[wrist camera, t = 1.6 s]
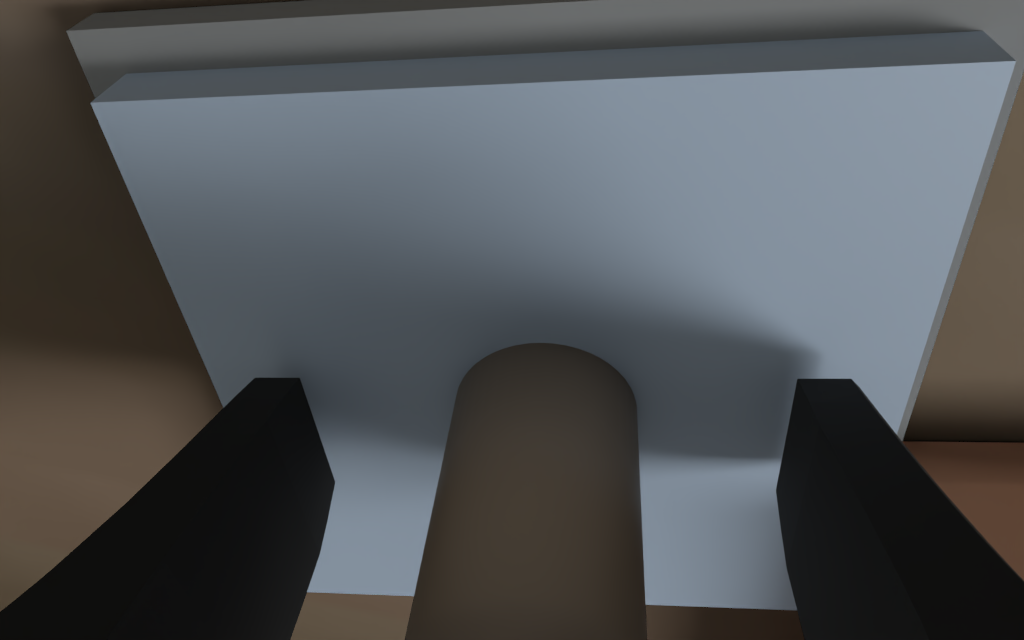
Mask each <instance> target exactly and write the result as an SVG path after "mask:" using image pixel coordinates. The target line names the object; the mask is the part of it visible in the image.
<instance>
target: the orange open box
mask: <svg viewBox="0 0 1024 640" xmlns="http://www.w3.org/2000/svg"><path fill="white" fill-rule="evenodd" d="M902 442H903V443H904V444H905V446H906V447H907V448H908V449H909V451H910V452H911V453H912V454H913V455H914V457H915V458H916V459H917V460H918V462H919V463H920V464H921V465H922V466H923V468H924V469H925V470H926V471H927V473H928V474H929V475H930V476H931V477H932V479H933V480H934V481H935V482H936V483H937V484H938V486H939V487H940V488H941V489H942V490H943V492H944V493H945V494H946V495H947V496H948V497H949V498H950V500H951V501H952V502H953V503H954V504H955V505H956V506H957V508H958V509H959V510H960V511H961V512H962V513H963V514H964V515H965V517H966V518H967V519H968V520H969V521H970V522H971V523H972V525H973V526H974V527H975V528H976V529H977V530H978V531H979V532H980V534H981V535H982V536H983V537H984V538H985V539H986V540H987V542H988V543H989V544H990V545H991V546H992V547H993V548H994V549H995V550H996V551H997V552H998V553H999V555H1000V556H1001V557H1002V558H1003V559H1004V560H1005V561H1006V562H1007V563H1008V564H1009V565H1010V566H1011V568H1012V569H1013V570H1014V571H1015V572H1016V573H1017V574H1018V575H1019V576H1020V577H1021V578H1022V579H1023V580H1024V443H1002V442H913V441H902Z"/></svg>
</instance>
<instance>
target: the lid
mask: <svg viewBox="0 0 1024 640" xmlns="http://www.w3.org/2000/svg"><path fill="white" fill-rule="evenodd" d="M1015 63H1016V60H1015V59H1014V58H1012V57H1011V56H1010V55H1009V54H1008V53H1007V52H1006V51H1005V50H1004V49H1003V48H1001V47H1000V46H999V45H998V44H997V43H996V42H995V41H994V40H993V39H991V38H990V37H989V36H988V35H987V34H986V33H985V32H984V31H969V32H949V33H929V34H909V35H889V36H869V37H849V38H829V39H809V40H789V41H769V42H749V43H729V44H709V45H689V46H669V47H648V48H628V49H608V50H588V51H568V52H548V53H528V54H508V55H488V56H468V57H448V58H428V59H408V60H388V61H368V62H348V63H328V64H308V65H288V66H268V67H248V68H228V69H208V70H188V71H168V72H148V73H128V74H125V75H124V76H123V77H122V78H120V79H119V80H118V81H117V82H115V83H114V84H113V85H112V86H110V87H109V88H108V89H107V90H105V91H104V92H103V93H102V94H100V95H99V96H98V97H97V98H95V99H94V100H93V101H92V102H90V104H91V106H92V108H93V110H94V113H95V115H96V117H97V120H98V122H99V124H100V126H101V129H102V131H103V133H104V136H105V138H106V140H107V142H108V145H109V147H110V149H111V152H112V154H113V156H114V158H115V161H116V163H117V165H118V168H119V170H120V172H121V174H122V177H123V179H124V181H125V184H126V186H127V188H128V190H129V193H130V195H131V197H132V200H133V202H134V204H135V207H136V209H137V211H138V213H139V216H140V218H141V220H142V223H143V225H144V227H145V229H146V232H147V234H148V236H149V239H150V241H151V243H152V245H153V248H154V250H155V252H156V255H157V257H158V259H159V261H160V264H161V266H162V268H163V271H164V273H165V275H166V277H167V280H168V282H169V284H170V287H171V289H172V291H173V293H174V296H175V298H176V300H177V303H178V305H179V307H180V309H181V312H182V314H183V316H184V319H185V321H186V323H187V325H188V328H189V330H190V332H191V335H192V337H193V339H194V342H195V344H196V346H197V348H198V351H199V353H200V355H201V358H202V360H203V362H204V364H205V367H206V369H207V371H208V374H209V376H210V378H211V380H212V383H213V385H214V387H215V390H216V392H217V394H218V396H219V399H220V401H221V403H222V406H223V408H224V407H225V406H226V405H227V404H228V403H229V402H230V401H231V400H232V399H233V398H234V397H235V396H236V395H237V394H238V393H239V392H240V391H241V390H242V389H243V388H244V387H246V386H247V385H248V384H249V383H250V382H251V381H252V380H253V379H254V378H300V380H301V383H302V386H303V389H304V392H305V395H306V397H307V400H308V403H309V406H310V409H311V412H312V415H313V418H314V421H315V424H316V427H317V430H318V433H319V436H320V439H321V441H322V444H323V447H324V450H325V453H326V456H327V459H328V462H329V465H330V468H331V471H332V474H333V477H334V480H335V486H334V491H333V496H332V501H331V506H330V511H329V516H328V521H327V525H326V529H325V534H324V538H323V542H322V547H321V551H320V555H319V558H318V561H317V564H316V567H315V570H314V573H313V576H312V579H311V582H310V584H309V587H308V590H307V592H318V593H345V594H372V595H399V596H414V599H413V603H412V608H411V613H410V618H409V622H408V627H407V632H406V637H405V640H647V627H646V605H667V606H694V607H721V608H748V609H775V610H797V607H796V603H795V600H794V596H793V592H792V588H791V584H790V580H789V576H788V572H787V567H786V561H785V554H784V547H783V540H782V534H781V526H780V518H779V511H778V503H777V496H776V487H777V482H778V476H779V471H780V466H781V461H782V456H783V450H784V445H785V440H786V435H787V430H788V425H789V419H790V414H791V409H792V404H793V399H794V394H795V388H796V383H797V379H852V380H853V381H854V382H855V383H856V384H857V385H858V386H859V387H860V388H861V390H862V391H863V392H864V394H865V395H866V396H867V397H868V399H869V400H870V401H871V403H872V404H873V405H874V406H875V408H876V409H877V410H878V412H879V413H880V414H881V415H882V417H883V418H884V419H885V421H886V422H887V423H888V424H889V426H890V427H891V428H892V429H893V431H894V432H895V433H896V434H897V433H898V430H899V426H900V423H901V420H902V417H903V414H904V411H905V408H906V405H907V401H908V398H909V395H910V392H911V389H912V386H913V383H914V379H915V376H916V373H917V370H918V367H919V364H920V361H921V358H922V354H923V351H924V348H925V345H926V342H927V339H928V336H929V332H930V329H931V326H932V323H933V320H934V317H935V314H936V311H937V307H938V304H939V301H940V298H941V295H942V292H943V289H944V285H945V282H946V279H947V276H948V273H949V270H950V267H951V264H952V260H953V257H954V254H955V251H956V248H957V245H958V242H959V239H960V235H961V232H962V229H963V226H964V223H965V220H966V217H967V213H968V210H969V207H970V204H971V201H972V198H973V195H974V192H975V188H976V185H977V182H978V179H979V176H980V173H981V170H982V166H983V163H984V160H985V157H986V154H987V151H988V148H989V145H990V141H991V138H992V135H993V132H994V129H995V126H996V123H997V119H998V116H999V113H1000V110H1001V107H1002V104H1003V101H1004V98H1005V94H1006V91H1007V88H1008V85H1009V82H1010V79H1011V76H1012V73H1013V69H1014V66H1015Z"/></svg>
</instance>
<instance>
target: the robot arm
mask: <svg viewBox="0 0 1024 640" xmlns="http://www.w3.org/2000/svg"><path fill="white" fill-rule="evenodd" d="M334 486H335V480H334V477H333V474H332V471H331V468H330V465H329V462H328V459H327V456H326V453H325V450H324V447H323V444H322V441H321V439H320V436H319V433H318V430H317V427H316V424H315V421H314V418H313V415H312V412H311V409H310V406H309V403H308V400H307V397H306V395H305V392H304V389H303V386H302V383H301V380H300V378H254V379H253V380H252V381H251V382H250V383H249V384H248V385H247V386H246V387H244V388H243V389H242V390H241V391H240V392H239V393H238V394H237V395H236V396H235V397H234V398H233V399H232V400H231V401H230V402H229V403H228V404H227V405H226V406H225V407H224V408H223V409H222V410H221V411H220V412H219V413H218V414H217V415H216V416H215V417H214V418H213V419H212V420H211V421H210V422H209V423H208V424H207V425H206V426H205V427H204V428H203V429H202V430H201V431H200V432H199V433H198V434H197V435H196V436H195V437H194V438H193V439H192V440H191V441H190V442H189V443H188V444H187V445H186V446H185V447H184V448H183V449H182V450H181V451H180V452H179V453H178V454H177V455H176V456H175V457H174V458H173V459H171V460H170V461H169V462H168V463H167V464H166V465H165V466H164V467H163V468H162V469H161V470H160V471H159V472H158V473H157V474H156V475H155V476H154V477H153V478H152V479H151V480H150V481H149V482H148V483H147V484H146V485H145V486H144V487H143V488H141V489H140V490H139V491H138V492H137V493H136V494H135V495H134V496H133V497H132V498H131V499H130V500H129V501H128V502H127V503H126V504H125V505H124V506H123V507H121V508H120V509H119V510H118V511H117V512H116V513H115V514H114V515H112V516H111V517H110V518H109V519H108V520H107V521H106V522H105V523H103V524H102V525H101V526H100V527H99V528H98V529H97V530H96V531H95V532H93V533H92V534H91V535H90V536H89V537H88V538H87V539H86V540H84V541H83V542H82V543H81V544H80V545H79V546H78V547H77V548H76V549H74V550H73V551H72V552H71V553H70V554H69V555H68V556H67V557H65V558H64V559H63V560H62V561H61V562H60V563H59V564H58V565H57V566H55V567H54V568H53V569H52V570H51V571H50V572H48V573H47V574H46V575H45V576H44V577H42V578H41V579H40V580H39V581H38V582H37V583H35V584H34V585H33V586H32V587H30V588H29V589H28V590H27V591H26V592H24V593H23V594H22V595H21V596H19V597H18V598H17V599H16V600H15V601H13V602H12V603H11V604H10V605H8V606H7V607H6V608H5V609H3V610H2V611H1V612H0V640H290V638H291V636H292V633H293V630H294V627H295V624H296V622H297V619H298V616H299V613H300V610H301V607H302V605H303V602H304V599H305V596H306V593H307V590H308V587H309V584H310V582H311V579H312V576H313V573H314V570H315V567H316V564H317V561H318V558H319V555H320V551H321V547H322V542H323V538H324V534H325V529H326V525H327V521H328V516H329V511H330V506H331V501H332V496H333V491H334ZM776 496H777V503H778V511H779V518H780V526H781V534H782V540H783V547H784V554H785V561H786V567H787V572H788V576H789V580H790V584H791V588H792V592H793V596H794V600H795V603H796V607H797V611H798V615H799V619H800V623H801V627H802V631H803V634H804V638H805V640H1024V580H1023V579H1022V578H1021V577H1020V576H1019V575H1018V574H1017V573H1016V572H1015V571H1014V570H1013V569H1012V568H1011V566H1010V565H1009V564H1008V563H1007V562H1006V561H1005V560H1004V559H1003V558H1002V557H1001V556H1000V555H999V553H998V552H997V551H996V550H995V549H994V548H993V547H992V546H991V545H990V544H989V543H988V542H987V540H986V539H985V538H984V537H983V536H982V535H981V534H980V532H979V531H978V530H977V529H976V528H975V527H974V526H973V525H972V523H971V522H970V521H969V520H968V519H967V518H966V517H965V515H964V514H963V513H962V512H961V511H960V510H959V509H958V508H957V506H956V505H955V504H954V503H953V502H952V501H951V500H950V498H949V497H948V496H947V495H946V494H945V493H944V492H943V490H942V489H941V488H940V487H939V486H938V484H937V483H936V482H935V481H934V480H933V479H932V477H931V476H930V475H929V474H928V473H927V471H926V470H925V469H924V468H923V466H922V465H921V464H920V463H919V462H918V460H917V459H916V458H915V457H914V455H913V454H912V453H911V452H910V451H909V449H908V448H907V447H906V446H905V444H904V443H903V442H902V441H901V439H900V438H899V437H898V436H897V434H896V433H895V432H894V431H893V429H892V428H891V427H890V426H889V424H888V423H887V422H886V421H885V419H884V418H883V417H882V415H881V414H880V413H879V412H878V410H877V409H876V408H875V406H874V405H873V404H872V403H871V401H870V400H869V399H868V397H867V396H866V395H865V394H864V392H863V391H862V390H861V388H860V387H859V386H858V385H857V384H856V383H855V382H854V381H853V380H852V379H797V383H796V388H795V394H794V399H793V404H792V409H791V414H790V419H789V425H788V430H787V435H786V440H785V445H784V450H783V456H782V461H781V466H780V471H779V476H778V482H777V487H776Z"/></svg>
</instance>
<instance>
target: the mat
mask: <svg viewBox="0 0 1024 640" xmlns="http://www.w3.org/2000/svg"><path fill="white" fill-rule="evenodd" d="M969 31H984V32H985V33H986V34H987V35H988V36H989V37H990V38H991V39H993V40H994V41H995V42H996V43H997V44H998V45H999V46H1000V47H1001V48H1003V49H1004V50H1005V51H1006V52H1007V53H1008V54H1009V55H1010V56H1011V57H1012V58H1014V59H1015V60H1016V63H1015V66H1014V69H1013V73H1012V76H1011V79H1010V82H1009V85H1008V88H1007V91H1006V94H1005V98H1004V101H1003V104H1002V107H1001V110H1000V113H999V116H998V119H997V123H996V126H995V129H994V132H993V135H992V138H991V141H990V145H989V148H988V151H987V154H986V157H985V160H984V163H983V166H982V170H981V173H980V176H979V179H978V182H977V185H976V188H975V192H974V195H973V198H972V201H971V204H970V207H969V210H968V213H967V217H966V220H965V223H964V226H963V229H962V232H961V235H960V239H959V242H958V245H957V248H956V251H955V254H954V257H953V260H952V264H951V267H950V270H949V273H948V276H947V279H946V282H945V285H944V289H943V292H942V295H941V298H940V301H939V304H938V307H937V311H936V314H935V317H934V320H933V323H932V326H931V329H930V332H929V336H928V339H927V342H926V345H925V348H924V351H923V354H922V358H921V361H920V364H919V367H918V370H917V373H916V376H915V379H914V383H913V386H912V389H911V392H910V395H909V398H908V401H907V405H906V408H905V411H904V414H903V417H902V420H901V423H900V426H899V430H898V433H897V436H898V437H899V438H900V439H901V441H903V438H904V435H905V432H906V429H907V426H908V423H909V420H910V417H911V414H912V410H913V407H914V404H915V401H916V398H917V395H918V392H919V389H920V386H921V383H922V380H923V377H924V374H925V371H926V368H927V365H928V362H929V359H930V356H931V353H932V350H933V346H934V343H935V340H936V337H937V334H938V331H939V328H940V325H941V322H942V319H943V316H944V313H945V310H946V307H947V304H948V301H949V298H950V295H951V292H952V289H953V285H954V282H955V279H956V276H957V273H958V270H959V267H960V264H961V261H962V258H963V255H964V252H965V249H966V246H967V243H968V240H969V237H970V234H971V231H972V228H973V225H974V221H975V218H976V215H977V212H978V209H979V206H980V203H981V200H982V197H983V194H984V191H985V188H986V185H987V182H988V179H989V176H990V173H991V170H992V167H993V164H994V161H995V157H996V154H997V151H998V148H999V145H1000V142H1001V139H1002V136H1003V133H1004V130H1005V127H1006V124H1007V121H1008V118H1009V115H1010V112H1011V109H1012V106H1013V103H1014V100H1015V97H1016V93H1017V90H1018V87H1019V84H1020V81H1021V78H1022V75H1023V72H1024V0H304V1H288V2H271V3H255V4H238V5H222V6H205V7H189V8H172V9H156V10H139V11H123V12H106V13H93V14H92V15H90V16H89V17H87V18H86V19H84V20H82V21H81V22H79V23H78V24H76V25H75V26H73V27H71V28H70V29H68V30H67V31H66V32H67V34H68V37H69V39H70V41H71V44H72V46H73V48H74V51H75V53H76V55H77V58H78V60H79V62H80V64H81V67H82V69H83V71H84V74H85V76H86V78H87V81H88V83H89V85H90V88H91V90H92V92H93V95H94V97H95V98H97V97H98V96H99V95H100V94H102V93H103V92H104V91H105V90H107V89H108V88H109V87H110V86H112V85H113V84H114V83H115V82H117V81H118V80H119V79H120V78H122V77H123V76H124V75H125V74H128V73H148V72H168V71H188V70H208V69H228V68H248V67H268V66H288V65H308V64H328V63H348V62H368V61H388V60H408V59H428V58H448V57H468V56H488V55H508V54H528V53H548V52H568V51H588V50H608V49H628V48H648V47H669V46H689V45H709V44H729V43H749V42H769V41H789V40H809V39H829V38H849V37H869V36H889V35H909V34H929V33H949V32H969Z"/></svg>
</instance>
